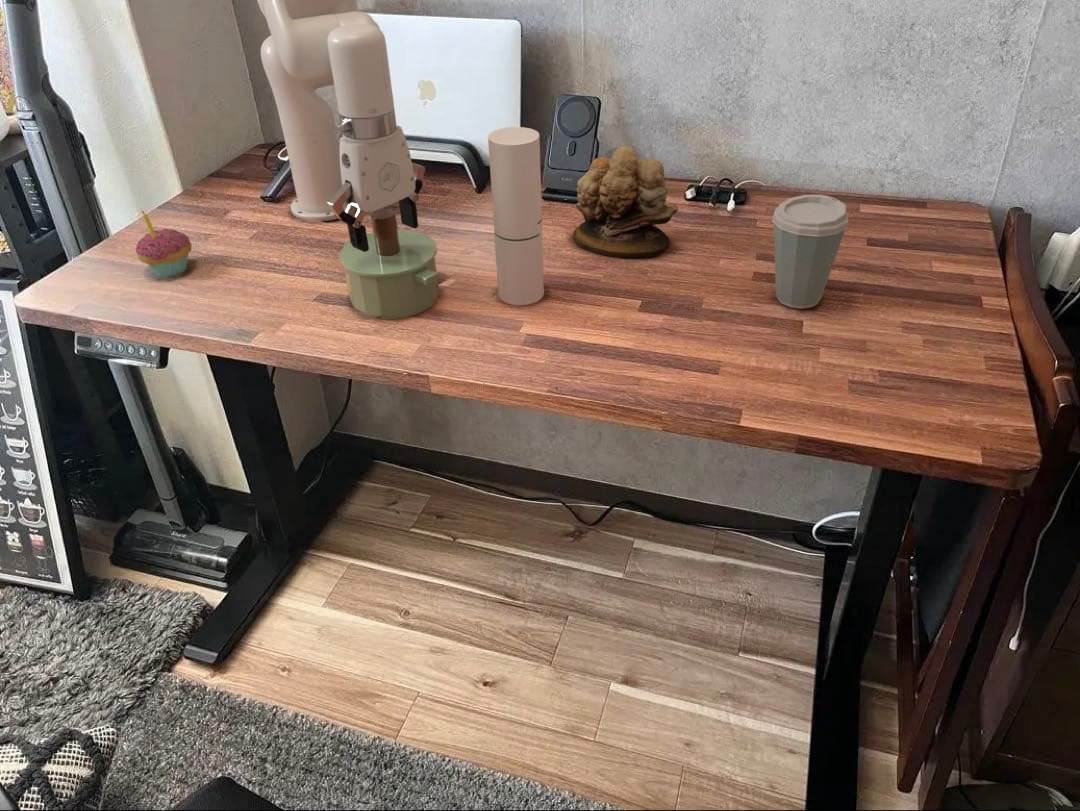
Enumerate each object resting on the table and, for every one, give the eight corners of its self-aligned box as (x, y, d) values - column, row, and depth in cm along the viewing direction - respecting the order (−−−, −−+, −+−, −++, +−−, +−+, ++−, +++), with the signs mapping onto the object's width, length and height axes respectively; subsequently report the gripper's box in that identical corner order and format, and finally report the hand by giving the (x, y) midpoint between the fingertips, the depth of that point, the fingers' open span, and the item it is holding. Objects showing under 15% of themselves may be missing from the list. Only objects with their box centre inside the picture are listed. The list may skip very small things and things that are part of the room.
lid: (393, 227, 137) (387, 186, 133) (457, 253, 129) (453, 209, 125) (321, 261, 128) (312, 217, 124) (384, 290, 121) (376, 245, 116)
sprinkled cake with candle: (180, 286, 138) (158, 217, 130) (134, 282, 139) (109, 214, 132) (207, 261, 144) (187, 195, 137) (162, 258, 146) (140, 192, 139)
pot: (388, 263, 142) (382, 221, 138) (468, 298, 132) (464, 254, 127) (322, 294, 134) (313, 252, 130) (402, 335, 124) (396, 290, 119)
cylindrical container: (550, 285, 134) (546, 129, 119) (535, 308, 129) (529, 147, 114) (508, 279, 136) (499, 125, 121) (491, 301, 131) (480, 142, 116)
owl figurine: (682, 234, 147) (690, 138, 137) (665, 265, 139) (672, 164, 128) (584, 221, 153) (584, 127, 142) (562, 250, 144) (561, 152, 134)
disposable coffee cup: (792, 323, 123) (809, 228, 114) (745, 291, 131) (758, 200, 122) (847, 304, 127) (868, 211, 118) (799, 274, 135) (814, 185, 126)
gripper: (335, 147, 109) (356, 266, 120) (433, 111, 120) (444, 223, 130) (300, 135, 113) (323, 251, 124) (398, 101, 124) (412, 211, 134)
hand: (385, 237), depth 127 cm, fingers open, 9 cm apart
